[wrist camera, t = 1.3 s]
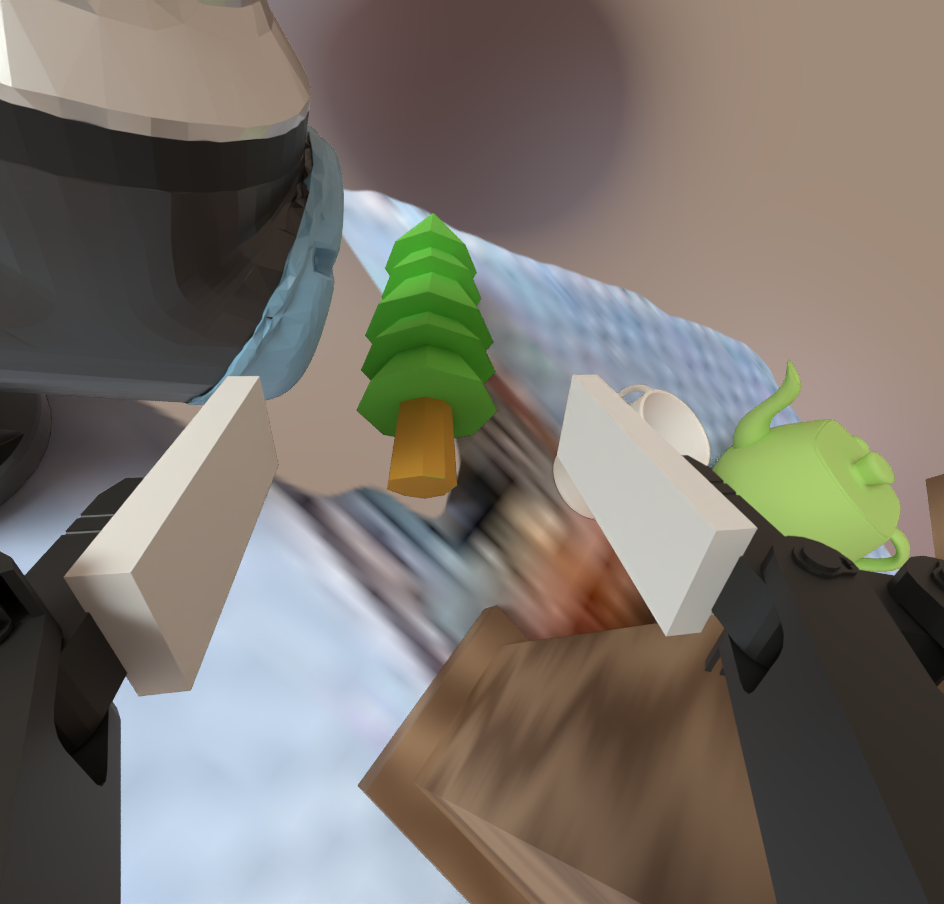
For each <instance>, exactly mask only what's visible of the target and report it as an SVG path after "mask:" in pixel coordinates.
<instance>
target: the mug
mask: <svg viewBox="0 0 944 904" xmlns="http://www.w3.org/2000/svg"><path fill="white" fill-rule="evenodd" d="M633 391H641V392H643V393H644V395H643V396H641V397H640V398H638V399H637V400H635V401H634V402H632V403H631V404H630V405H629V406H631V407H632V408H633V409H634V410H635V411H636V412H637V413H638V414H639V415H640V416H641V417H642V418H643V419H644V420H645V421H646V422H647V423H648V424H649V425H650V426H651V427H652V428H654V429H655V430H656V431H657V432H658V433H659V434H660V435H661V436H662V437H663V438H664V439H665V440H666V441H667V442H668V443H669V444H670V445H671V446H672V447H673V448H674V449H675V450H677V451H678V452H679V453H680V454H681V455H688V456H690V457H692V458H694V459H696V460H697V461H699V462H701V463H703V464H704V465H706V466H707V465H708V463H709V460H710V446H709V441H708V438H707V435H706V433H705V431H704V428H703V427H702V425H701V423H700V421H699V420H698V418H697V417H696V415H695V414H694V413H693V412H692V410H691V409H690V408H689V407H688V406H687V405H686V404H685V403H684V402H682V401H681V400H680V399H679V398H677V397H676V396H674V395H672V394H671V393H668V392H666V391H663V390H654V389H652V388H651V387H649V386H646V385H641V384H637V385H631V386H629V387H626V388H624V389H623V390H621V391H620V392H619V393H617V394H618V395H619V396H620V397H621V398H623V397H624V396H625V395H627V394H629V393H631V392H633ZM553 474H554V480H555V483H556V486H557V489H558V491H559V493H560V495H561V496H562V498H563V499H564V501H565V502H566V503H567V504H568V505H569V506H570V507H571V508H572V509H573V510H574V511H575V512H577V513H578V514H580V515H582V516H584V517H586V518H590V519H595V518H594V516H593V514H592V513H591V511H590V509H589V508H588V506H587V504H586V502H585V501H584V499H583V497H582V496H581V494H580V492H579V491H578V489H577V487H576V486H575V484H574V482H573V481H572V479H571V477H570V476H569V474H568V472H567V471H566V469H565V467H564V466H563V464H562V462H561V461H560V459H559V457H558V456H556V458H555V461H554V466H553Z"/></svg>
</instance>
